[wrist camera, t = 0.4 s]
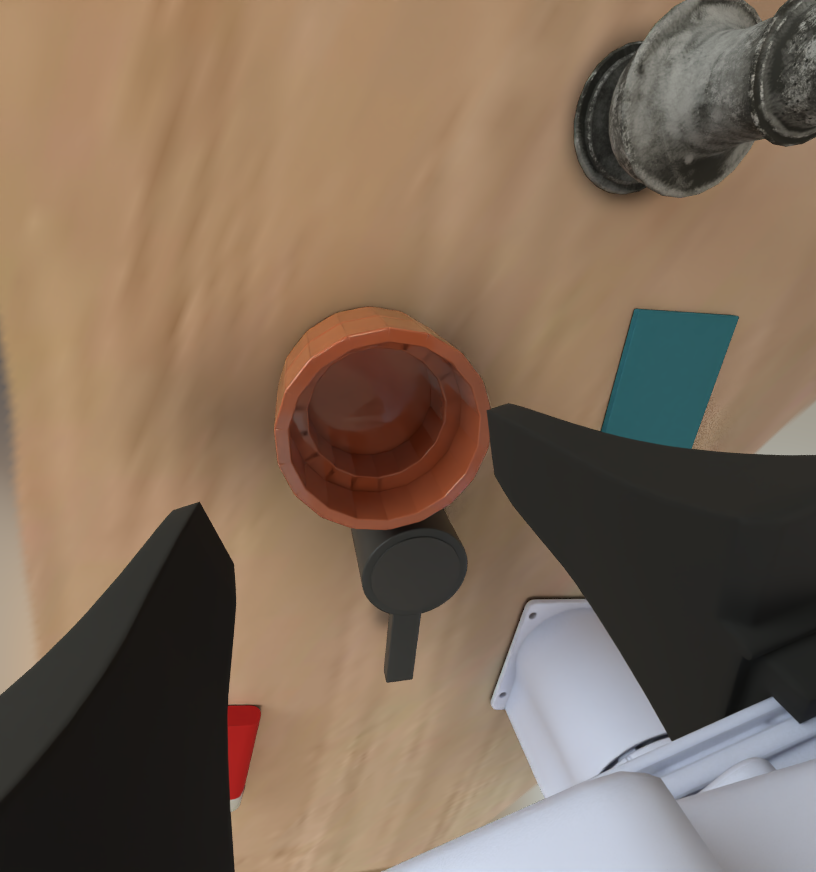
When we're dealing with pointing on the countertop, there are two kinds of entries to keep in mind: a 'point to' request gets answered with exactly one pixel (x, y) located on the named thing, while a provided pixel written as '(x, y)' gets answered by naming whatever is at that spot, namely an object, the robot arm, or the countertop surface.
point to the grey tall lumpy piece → (698, 97)
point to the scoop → (409, 580)
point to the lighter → (240, 747)
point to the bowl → (378, 420)
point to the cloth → (667, 375)
